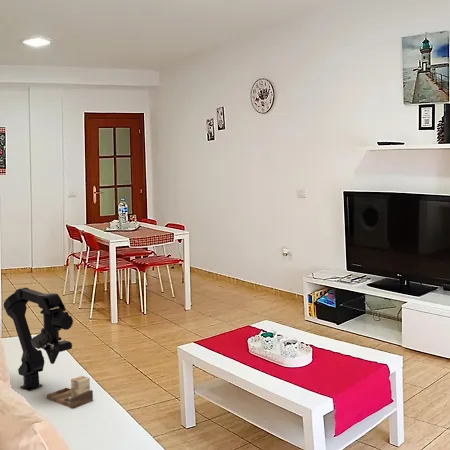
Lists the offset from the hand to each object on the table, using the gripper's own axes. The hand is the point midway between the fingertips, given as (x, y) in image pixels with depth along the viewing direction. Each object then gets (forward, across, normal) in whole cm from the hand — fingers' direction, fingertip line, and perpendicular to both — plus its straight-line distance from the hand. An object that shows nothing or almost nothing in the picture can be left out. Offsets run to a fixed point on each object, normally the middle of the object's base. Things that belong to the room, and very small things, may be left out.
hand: (52, 363), depth 231 cm
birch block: (+12, +14, +3) cm, 18 cm away
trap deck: (+13, +9, +1) cm, 16 cm away
